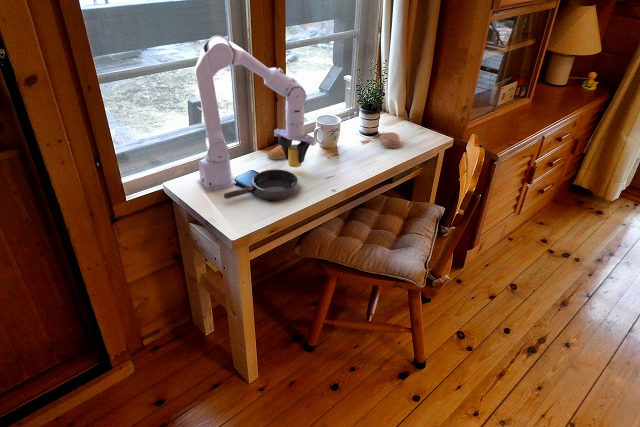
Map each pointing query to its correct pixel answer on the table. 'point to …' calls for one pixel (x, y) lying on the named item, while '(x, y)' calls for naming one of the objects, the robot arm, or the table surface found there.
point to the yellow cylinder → (293, 156)
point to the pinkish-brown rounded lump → (390, 140)
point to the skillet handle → (239, 192)
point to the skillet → (275, 184)
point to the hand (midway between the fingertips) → (295, 160)
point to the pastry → (276, 153)
